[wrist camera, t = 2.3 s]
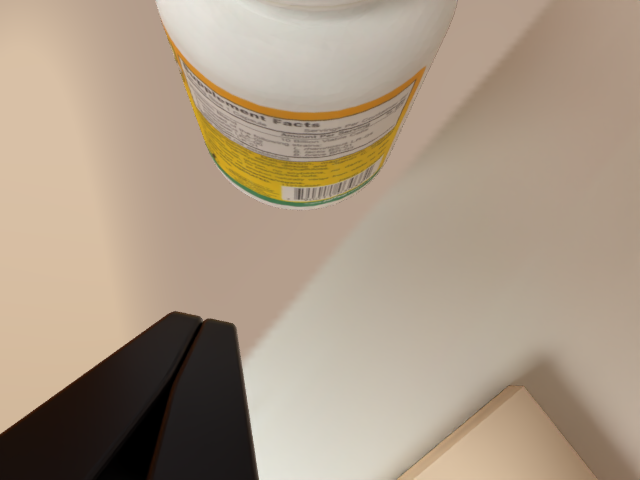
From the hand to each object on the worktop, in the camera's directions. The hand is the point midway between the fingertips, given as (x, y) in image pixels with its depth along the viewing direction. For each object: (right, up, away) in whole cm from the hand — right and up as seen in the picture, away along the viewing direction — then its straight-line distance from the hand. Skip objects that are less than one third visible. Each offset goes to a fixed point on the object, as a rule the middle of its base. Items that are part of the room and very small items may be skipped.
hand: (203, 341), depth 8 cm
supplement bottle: (+1, +5, +9) cm, 10 cm away
